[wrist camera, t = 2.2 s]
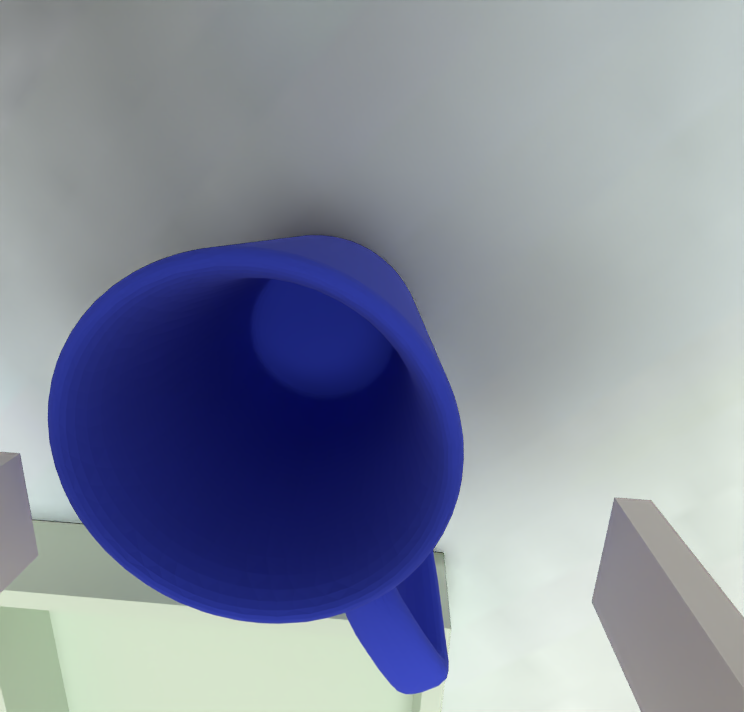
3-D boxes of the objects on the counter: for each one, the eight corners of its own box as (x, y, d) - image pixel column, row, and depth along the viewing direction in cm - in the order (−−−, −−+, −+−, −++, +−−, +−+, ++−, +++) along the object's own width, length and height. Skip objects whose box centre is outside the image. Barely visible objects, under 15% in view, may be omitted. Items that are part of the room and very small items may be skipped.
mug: (333, 526, 22) (280, 780, 13) (177, 277, 19) (-45, 372, 10) (512, 453, 21) (600, 683, 11) (372, 168, 18) (332, 155, 8)
